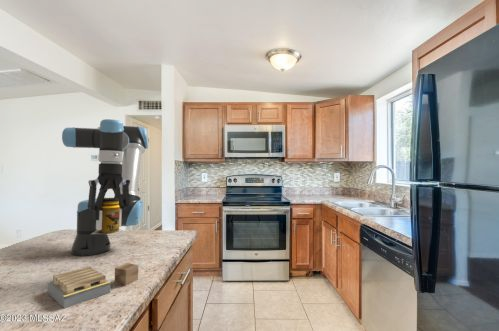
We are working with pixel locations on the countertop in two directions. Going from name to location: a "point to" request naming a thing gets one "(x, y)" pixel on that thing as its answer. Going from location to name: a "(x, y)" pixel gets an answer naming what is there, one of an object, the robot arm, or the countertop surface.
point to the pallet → (78, 279)
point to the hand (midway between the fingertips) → (108, 227)
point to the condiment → (110, 216)
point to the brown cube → (126, 274)
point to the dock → (77, 293)
